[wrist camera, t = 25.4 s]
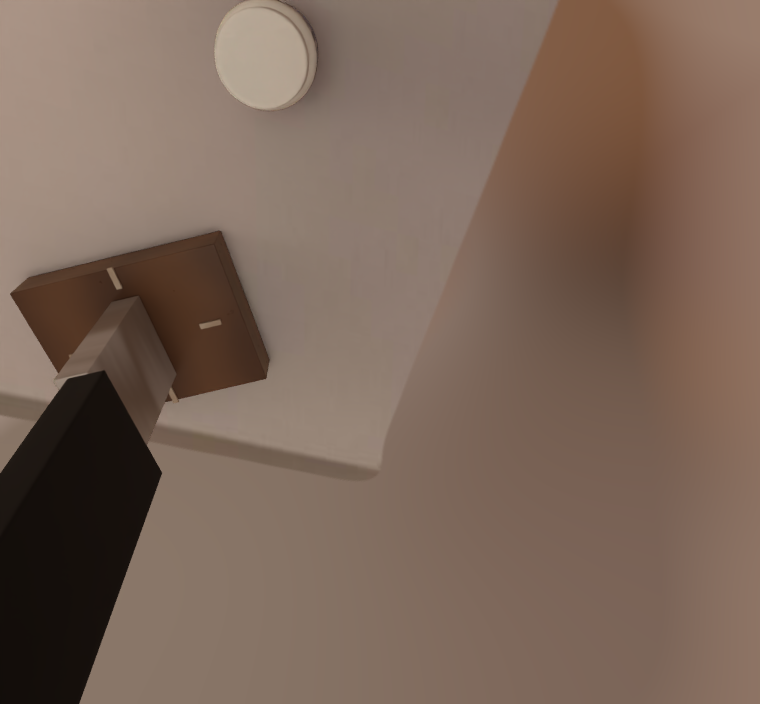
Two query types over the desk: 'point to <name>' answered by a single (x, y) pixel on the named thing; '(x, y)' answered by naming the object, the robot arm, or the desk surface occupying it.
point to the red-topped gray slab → (126, 361)
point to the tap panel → (157, 310)
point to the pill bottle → (266, 54)
